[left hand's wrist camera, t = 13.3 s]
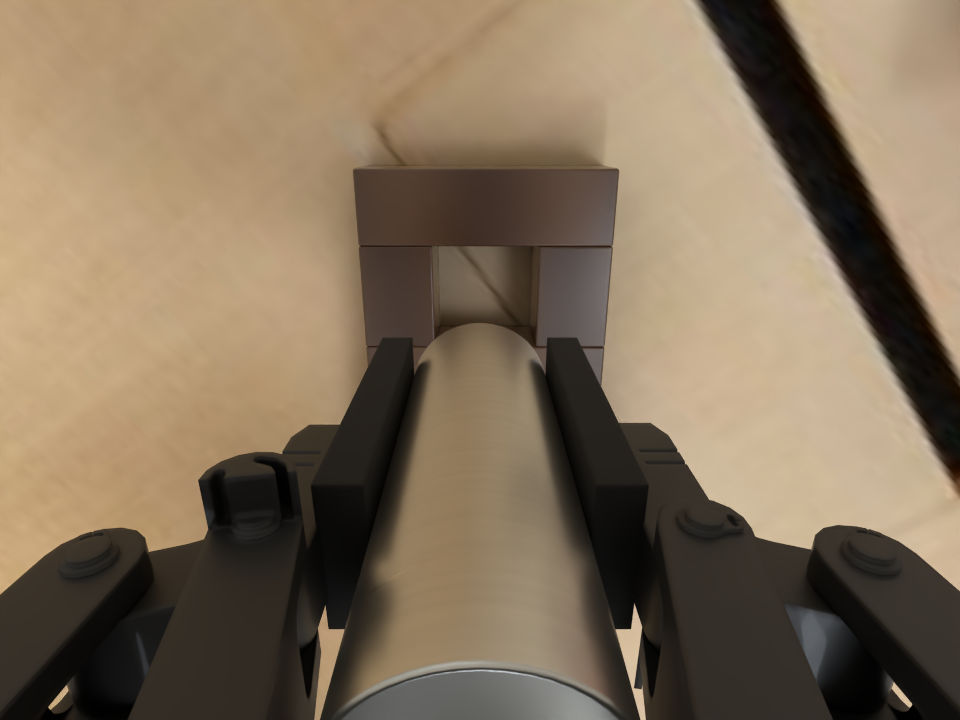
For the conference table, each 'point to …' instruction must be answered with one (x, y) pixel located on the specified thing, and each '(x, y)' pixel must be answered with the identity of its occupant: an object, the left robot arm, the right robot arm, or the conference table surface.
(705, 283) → the conference table surface
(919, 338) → the conference table surface
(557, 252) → the peg board
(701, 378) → the conference table surface
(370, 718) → the peg
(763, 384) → the conference table surface
